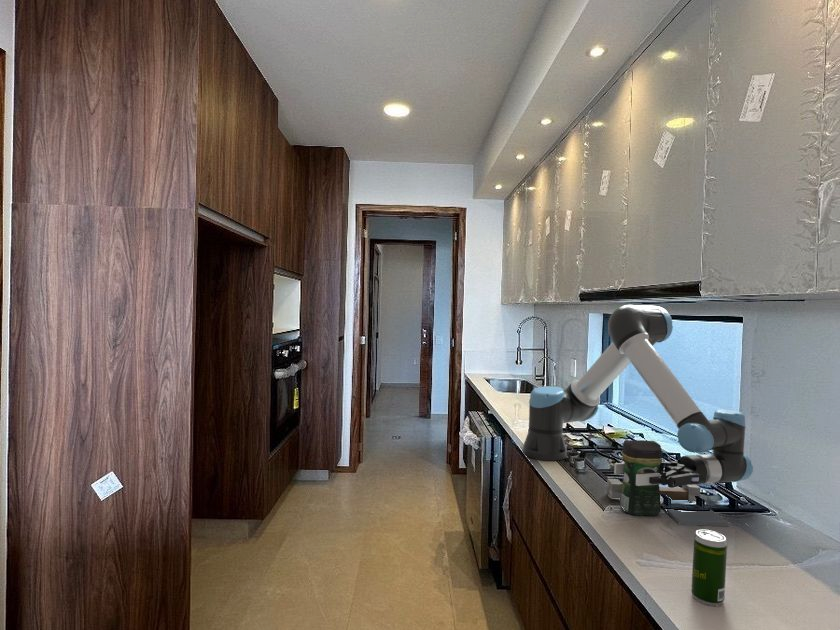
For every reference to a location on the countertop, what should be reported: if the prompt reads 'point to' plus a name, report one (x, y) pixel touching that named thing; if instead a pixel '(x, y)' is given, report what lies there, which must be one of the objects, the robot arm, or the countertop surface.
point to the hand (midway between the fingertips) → (625, 474)
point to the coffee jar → (640, 461)
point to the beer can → (709, 567)
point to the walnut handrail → (674, 493)
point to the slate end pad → (697, 518)
